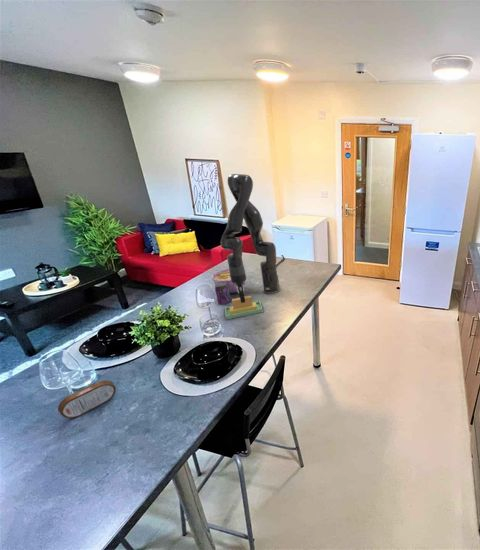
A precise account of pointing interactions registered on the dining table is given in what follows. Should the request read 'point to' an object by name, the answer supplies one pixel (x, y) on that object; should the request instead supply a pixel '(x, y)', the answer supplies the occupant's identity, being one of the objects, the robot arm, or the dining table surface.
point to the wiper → (242, 305)
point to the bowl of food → (225, 279)
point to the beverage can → (222, 292)
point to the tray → (228, 316)
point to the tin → (86, 399)
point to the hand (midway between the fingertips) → (242, 298)
